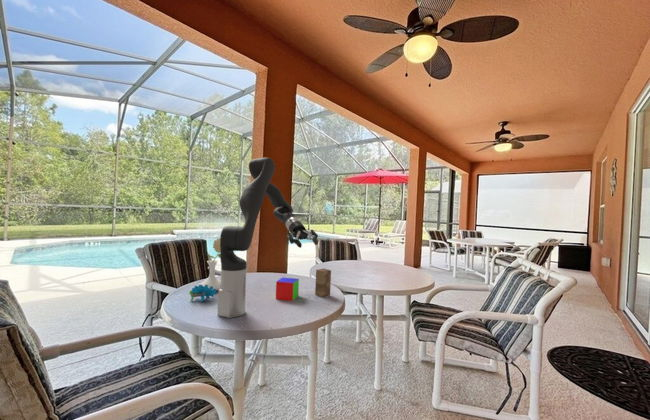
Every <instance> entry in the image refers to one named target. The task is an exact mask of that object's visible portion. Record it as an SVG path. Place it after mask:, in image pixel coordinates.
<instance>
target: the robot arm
mask: <svg viewBox="0 0 650 420" xmlns="http://www.w3.org/2000/svg"><path fill="white" fill-rule="evenodd" d="M275 169H276V167H275V162H274V160H273V159H272V157H271V158H270V157H260V158H255V159H254V158H253V159H251V160H250V161H249V163H248V170H249V173H250V175H251V177H252V178H253V181H251V182H250V183H249V184H248V185H246V187H245V188H244V189H243V191H242V194H241V196H240V198H239V204H238V205H239V207H240V211H241V212H242V215H243V217H244V224H243V225H242V226H234V225H233V226H232V225H231V226H230V225H227V226H224V227H223V228H222V230H221V231H220V237H219V238H220V253H219V254H220V258H219V259H220V265H221V266H220V268H221V269H220V271H221V272H220V281H221V289H220V290H217V292H218V294H217V295H218V296H217V316H220V317H223V318H227V319H232V318H237V317H241V316H243V315H245V313H246V296H247V295H246V291H247V290H246V289H247V268H248V267H247V266H248V265H247V261H246V260H245V259H244V258H242V257H239V256H238V255H237V254H236V253H235V251H236V252H246V251H247V250H249V248H250V247H251V244H252V241H253V237H254V232H255V228H256V224H257V221H258V216H259V214H260V211H261V209H262V206H263V203H264V200H265V196H267V198H268V199H269V201H270V203H271V204H272V206H273V207H274V208H275V209H274V210H273V216H274V217H275V219H277V220H278V221H280V222H281V223H283V224H284V226H285V227H286V229H287V230H288V232H287V237H286V238H287V239H288V241H289V243H290V244H295V246H297V247H298V248H300V249H301V248H302V245H303V244H302V242H301V241H302V240H308V241H312V243H313V244H314V245H315V246H317V245H318V244H319V240H318V237H319V235H318V233H317V232H315V230H314V229H310V230H309V231H308V230H307V228H306V227H305V225H304V224H303V223H302V222H301V221H300V219H299V218H298V217H296V215H295V214H294V213H293V211H294V209H293V207H292V205H290V203H289V202H287V200H286V199H285V198H284V195H283V193H282V191H281V190H280V189H279V187H277V186H276V185H275V184H273V183H272V182H271V181H272V178H273V176H274V174H275Z"/></svg>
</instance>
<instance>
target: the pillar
mask: <svg viewBox="0 0 650 420" xmlns="http://www.w3.org/2000/svg"><path fill="white" fill-rule="evenodd" d="M331 281H332V270H331V269H327V268H319V269H315V291H314V294H315V296H317V295H318V296H317V297H320V298H326V296H327V297H330V296H331V284H332V283H331Z"/></svg>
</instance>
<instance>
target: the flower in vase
mask: <svg viewBox="0 0 650 420" xmlns="http://www.w3.org/2000/svg"><path fill="white" fill-rule="evenodd" d="M212 248H213V249H214V251H215V253H217V254H216V256H213V255H210V254H207V256H208V258H212V259H213V260H210V259H209V260H207V261H206V262H207V264H208V266H209V267H208V268H209V275H208V277H207V278H206V279H205V280H203V281H202V282H201V283H200V284H199V285H202V286H203V287H205V285H208V288H210V286H212V287H213V289H216V292H218V291H219V290H220V289H221V279H219V278H217V277H216V274H215V272H216V266H217V263H218V262H219V260H216V259H217V257H218V258H219V259H220V237H219V238H216V239H214V241H213V244H212ZM213 289H212V290H213Z"/></svg>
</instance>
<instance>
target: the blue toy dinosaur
mask: <svg viewBox="0 0 650 420" xmlns="http://www.w3.org/2000/svg"><path fill="white" fill-rule="evenodd" d="M212 289H213V287H212V286H210V288H208V285H205V287H203V286H202V285H200V284H198V286H197V285H195V286H194V287H192V289H191V290H189V295H190V297H191V298H190V302H192V303H193V302H194V301H193V300H194V298H198V297H200V298H201V299H200V303H204V299H205V298H207V299H208V298H209V299H210V297H212V298H213V297H214V295H217V291H216V289H213V290H212Z"/></svg>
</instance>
